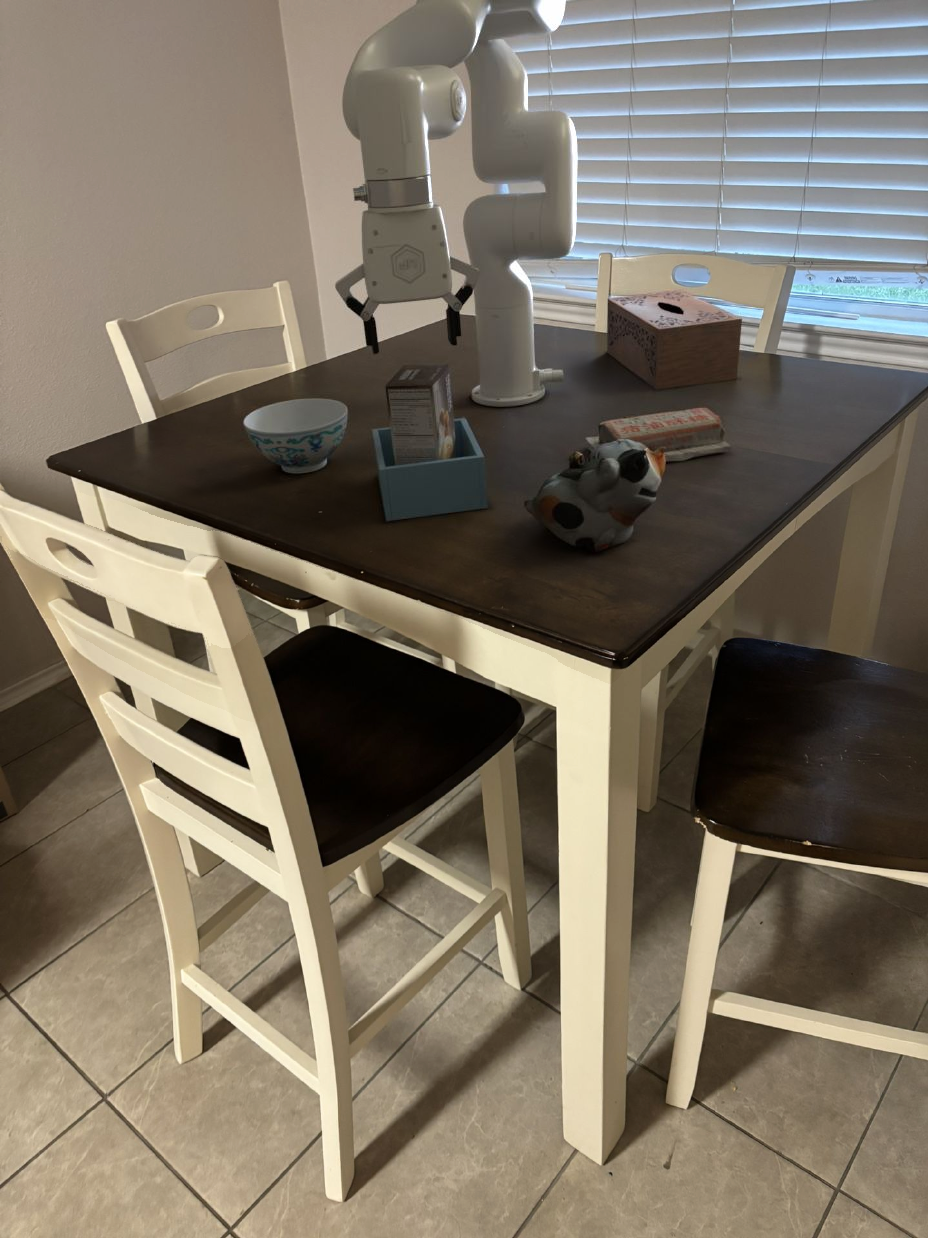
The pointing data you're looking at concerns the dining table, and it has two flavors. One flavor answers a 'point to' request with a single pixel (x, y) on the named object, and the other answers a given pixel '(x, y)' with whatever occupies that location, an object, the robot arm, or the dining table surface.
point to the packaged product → (668, 433)
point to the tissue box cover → (673, 338)
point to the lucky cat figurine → (600, 494)
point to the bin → (431, 478)
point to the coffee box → (421, 414)
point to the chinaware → (298, 432)
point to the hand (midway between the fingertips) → (414, 347)
